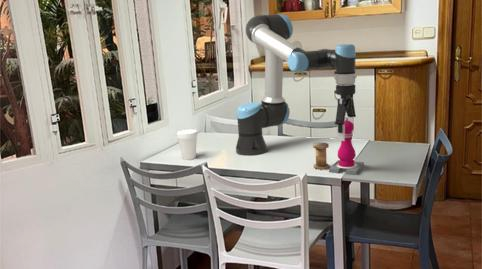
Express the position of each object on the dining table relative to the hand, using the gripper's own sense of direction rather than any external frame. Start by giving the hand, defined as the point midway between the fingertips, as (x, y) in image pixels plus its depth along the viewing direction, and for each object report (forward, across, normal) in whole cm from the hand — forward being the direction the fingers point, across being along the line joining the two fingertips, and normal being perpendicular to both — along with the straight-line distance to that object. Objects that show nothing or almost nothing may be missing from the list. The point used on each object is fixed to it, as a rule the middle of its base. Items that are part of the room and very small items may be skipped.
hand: (345, 136), depth 188 cm
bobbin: (+14, -1, +10) cm, 17 cm away
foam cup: (+15, -4, +75) cm, 77 cm away
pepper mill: (+12, 0, 0) cm, 12 cm away
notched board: (+14, 0, 0) cm, 14 cm away
